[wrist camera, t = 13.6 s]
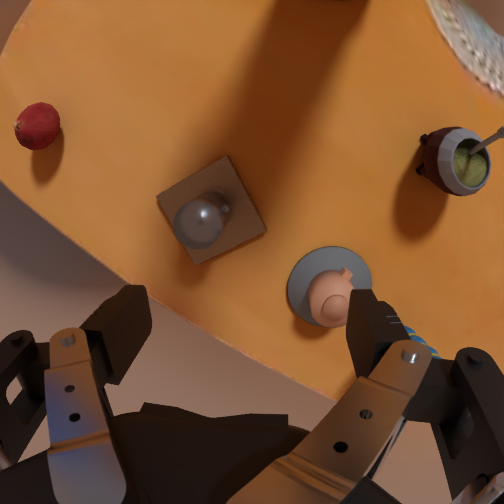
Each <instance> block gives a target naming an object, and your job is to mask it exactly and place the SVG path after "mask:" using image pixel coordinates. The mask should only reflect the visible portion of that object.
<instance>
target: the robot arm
mask: <svg viewBox="0 0 504 504" xmlns="http://www.w3.org/2000/svg"><path fill="white" fill-rule="evenodd" d="M151 329H152V318H151V313H150V307H149V302H148V296H147V291H146V288H145V286H143V285H125V286H124V287H123V288H122V289H121V290H120V291H119V292H118V293H117V294H116V295H115V296H113V297H111V298H109V299H107V300H106V301H104V302H103V303H102V304H101V305H100V306H99V308H98V309H96V310H95V311H94V313H93V314H91V315H90V316H89V318H88V319H87V320H86V321H85V322H84V323H83V324H82V325H81V326H80V327H79V328H67V329H63V330H60V331H58V332H57V333H55V334H54V335H53V336H52V337H51V339H50V342H45V343H36V342H35V339H34V337H33V334H32V333H31V332H30V331H27V330H20V331H16V332H13V333H11V334H9V335H8V336H6V337H5V338H4V339H3V340H2V341H1V342H0V504H402V503H400V502H399V501H398V500H396V499H395V498H394V497H393V496H391V495H390V494H389V493H387V492H386V491H385V490H384V489H382V488H381V487H380V486H379V485H377V484H376V483H375V482H374V481H373V480H374V478H375V476H376V475H377V473H378V471H379V470H380V468H381V466H382V465H383V463H384V461H385V459H386V458H387V456H388V455H389V453H390V451H391V449H392V448H393V446H394V444H395V443H396V441H397V439H398V438H399V436H400V434H401V432H402V430H403V429H404V427H405V425H406V423H407V421H408V420H409V421H417V422H427V423H430V424H431V427H432V430H433V433H434V436H435V439H436V443H437V446H438V450H439V453H440V456H441V460H442V463H443V467H444V471H445V474H446V478H447V482H448V486H449V489H450V493H451V498H452V502H451V503H450V504H504V375H503V373H502V372H501V370H500V369H499V367H498V366H497V364H496V363H495V361H494V360H493V358H492V357H491V356H490V355H489V354H488V353H487V352H485V351H483V350H481V349H478V348H473V347H467V348H463V349H461V350H459V351H458V352H457V354H456V357H455V360H446V359H437V358H433V357H432V353H431V351H430V349H429V348H428V347H427V346H425V345H424V344H422V343H420V342H417V341H413V340H411V338H410V336H409V334H408V333H407V331H406V329H405V327H404V326H403V324H402V323H401V320H400V319H399V317H397V314H396V312H395V310H394V309H393V307H391V306H390V305H389V304H387V303H386V302H384V301H378V300H377V299H376V297H375V295H374V293H373V291H372V290H371V289H352V290H351V293H350V300H349V308H348V316H347V323H346V339H347V343H348V347H349V350H350V354H351V358H352V361H353V365H354V369H355V372H356V376H357V380H356V381H355V382H354V384H353V385H352V386H351V387H350V388H349V390H348V391H347V392H346V393H345V394H344V396H343V397H342V398H341V399H340V400H339V401H338V402H337V404H336V405H335V406H334V407H333V408H332V409H331V410H330V412H329V413H328V414H327V415H326V416H325V417H324V418H323V419H322V420H321V421H320V423H319V424H318V425H317V426H316V427H315V428H314V429H313V430H312V431H311V432H310V431H308V430H305V429H302V428H299V427H296V426H291V425H288V414H243V415H236V416H227V417H217V418H210V417H206V416H202V415H199V414H196V413H193V412H190V411H187V410H184V409H181V408H178V407H173V406H165V405H159V404H152V403H146V402H144V404H143V406H142V408H141V410H140V412H131V413H125V414H120V415H117V416H114V415H113V412H112V409H111V406H110V403H109V400H108V397H107V394H106V391H105V388H104V386H105V384H106V383H109V384H114V385H119V384H120V382H121V380H122V379H123V377H124V375H125V374H126V372H127V370H128V369H129V367H130V366H131V364H132V362H133V361H134V359H135V357H136V356H137V354H138V353H139V351H140V349H141V348H142V346H143V345H144V343H145V341H146V340H147V338H148V336H149V335H150V333H151ZM15 377H17V379H18V381H19V383H20V385H21V387H22V390H21V392H20V393H19V394H18V396H17V397H16V398H15V400H14V401H13V402H12V404H11V405H10V404H9V402H8V400H7V398H6V390H7V387H8V386H9V384H10V383H11V382H12V381H13V379H14V378H15ZM46 414H47V420H48V429H49V437H50V448H49V449H47V450H45V451H43V452H41V453H38V454H36V455H34V456H32V457H30V458H28V459H25V460H23V461H21V462H19V463H17V462H18V460H19V459H20V457H21V455H22V454H23V452H24V450H25V449H26V447H27V445H28V444H29V442H30V440H31V439H32V437H33V435H34V434H35V432H36V430H37V429H38V427H39V426H40V424H41V422H42V421H43V419H44V418H45V416H46Z"/></svg>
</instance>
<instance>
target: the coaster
mask: <svg viewBox="0 0 504 504" xmlns="http://www.w3.org/2000/svg"><path fill="white" fill-rule="evenodd" d="M343 267H345V268H346V269H348V270H350V271H351V273H352V274H353V276H352V277H351V279H350V281H351V283H352V285H353V287H354V289H371V290H372V278H371V274H370V271H369V269H368V267H367V265H366V264H365V262H364V261H363V260H362V258H361V257H360V256H358V255H357V254H356V253H354V252H353V251H351V250H349V249H346V248H343V247H337V246H328V247H322V248H318V249H316V250H313V251H311V252H310V253H308V254H306V255H305V256H304V257H303V258H301V259H300V260H299V261H298V263H297V264H296V265H295V267H294V268H293V270H292V272H291V274H290V277H289V281H288V298H289V301H290V304H291V306H292V308H293V310H294V311H295V312H296V313H297V315H298V316H300V317H301V318H302V319H303V320H305V321H307V322H309V323H311V324H314V325H318V326H322V325H320V324H319V323H318V322H317V321H316V320H315V319H314V318H313V317H312V315H311V307H310V302H309V297H308V287H309V284H310V282H311V280H312V279H313V278H314V277H315V276H316V275H317V274H319V273H320V272H323V271H326V270H338V271H341V270H342V269H343Z"/></svg>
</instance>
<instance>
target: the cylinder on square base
mask: <svg viewBox="0 0 504 504" xmlns="http://www.w3.org/2000/svg"><path fill="white" fill-rule="evenodd" d="M156 198H157V199H158V201H159V203H160V205H161V207H162V209H163V210H164V212H165V214H166V216H167V218H168V219H169V221H170V223H171V225H172V226H173V229H174V234H175V236H176V238H178V240H179V241H180V242H181V243H182V244H183V246H184V247H185V249H186V251H187V253H188V254H189V256H190V258H191V259H192V261H193V263H194V265H195V266H196V265H198V264H200V263H202V262H204V261H206V260H208V259H210V258H213V257H215V256H217V255H219V254H221V253H223V252H225V251H227V250H229V249H231V248H233V247H235V246H237V245H239V244H241V243H243V242H245V241H247V240H249V239H251V238H254V237H256V236H258V235H260V234H262V233H264V232H266V231H267V228H266V226H265V224H264V222H263V220H262V218H261V217H260V215H259V213H258V211H257V209H256V207H255V205H254V203H253V201H252V199H251V198H250V196H249V194H248V192H247V190H246V188H245V186H244V184H243V182H242V181H241V179H240V177H239V175H238V173H237V171H236V169H235V167H234V166H233V164H232V162H231V160H230V158H229V156H225V157H223V158H222V159H220V160H218V161H216V162H214V163H212V164H211V165H209V166H207V167H205V168H203V169H202V170H200V171H198V172H196V173H195V174H193V175H191V176H189V177H188V178H186V179H184V180H182V181H181V182H179V183H177V184H176V185H174V186H172V187H170V188H169V189H167V190H165V191H164V192H162V193H160V194H159V195H157V196H156Z"/></svg>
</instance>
